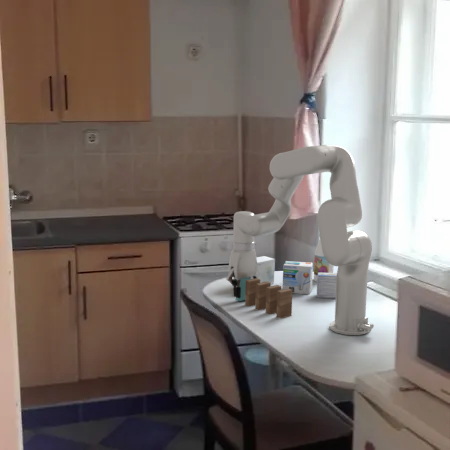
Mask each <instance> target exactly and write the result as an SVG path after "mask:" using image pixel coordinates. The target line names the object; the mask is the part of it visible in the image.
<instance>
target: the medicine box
mask: <svg viewBox="0 0 450 450" xmlns="http://www.w3.org/2000/svg"><path fill="white" fill-rule="evenodd" d="M336 280H337V272H333V273H318V277H317V283H316V298H320V299H324V298H325V299H336Z"/></svg>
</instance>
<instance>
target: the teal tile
mask: <svg viewBox="0 0 450 450" xmlns="http://www.w3.org/2000/svg"><path fill="white" fill-rule="evenodd" d="M246 280H250V277H248V278H243V279H241V281H240V285H239V287H240V288H241V297H240V298H237V297H235V300H236V301H238V302H241V301H245V294H246ZM236 283H237V280H236Z"/></svg>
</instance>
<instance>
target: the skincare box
mask: <svg viewBox="0 0 450 450" xmlns="http://www.w3.org/2000/svg"><path fill="white" fill-rule="evenodd" d="M256 257H257V270H258V271H259V273H260V274H259V276H258V277H257V278H258V279H260V283H262V282H270V283H271V286H273V285H275V270H276V269H275V267H276V266H275V265H276V264H275V263H276V258H273V257H269V256H265V255H262V256H256Z"/></svg>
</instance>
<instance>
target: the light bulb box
mask: <svg viewBox="0 0 450 450" xmlns="http://www.w3.org/2000/svg"><path fill="white" fill-rule="evenodd" d="M282 266H283V267H282V287H281V290H284V289H291V290H292V294H301V295H303V294H304V295H310V294H311V293H312V290H313V277H314V262H308V261H307V262H304V261H293V260H292V261H290V260H289V261H288V260H285V262H284V263H283V265H282Z"/></svg>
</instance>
